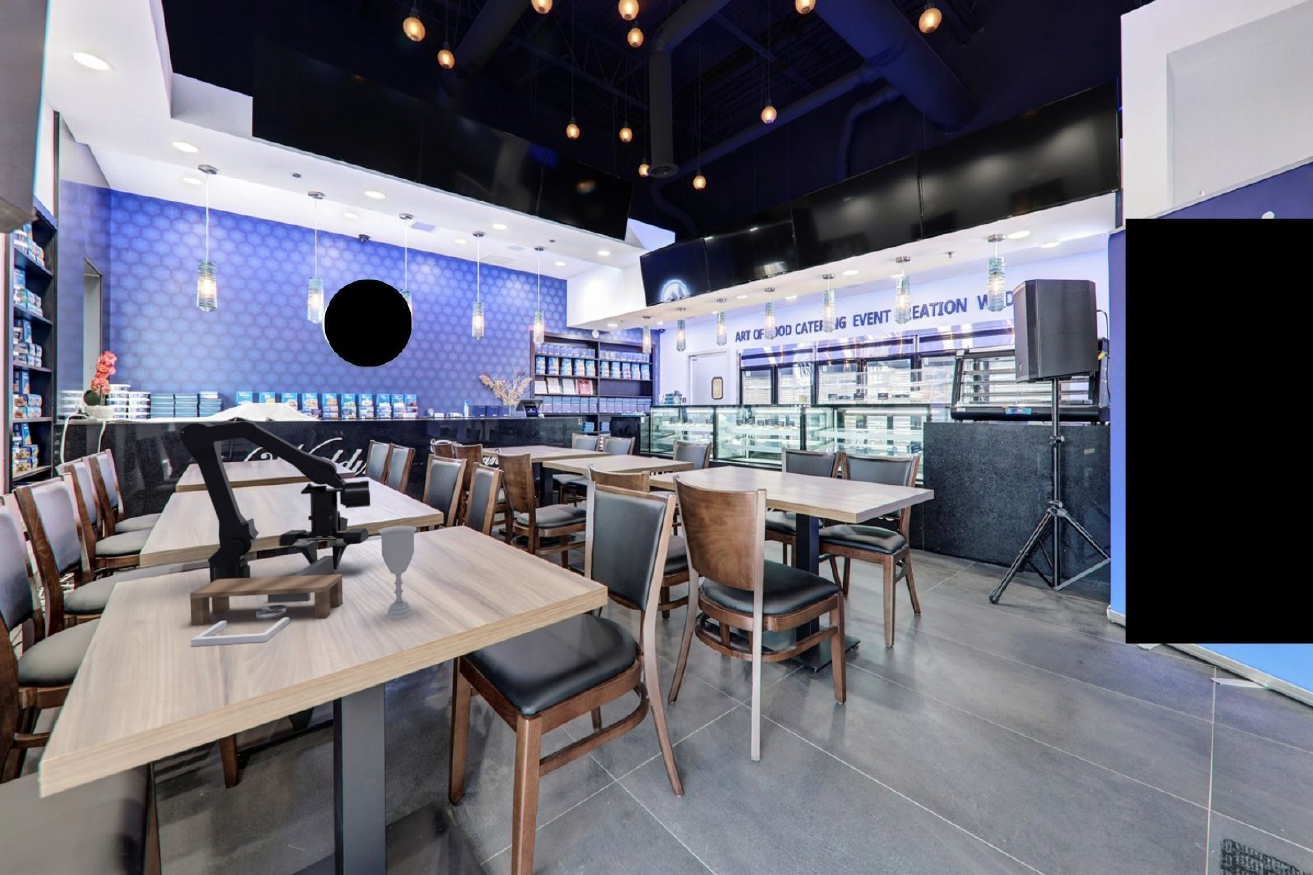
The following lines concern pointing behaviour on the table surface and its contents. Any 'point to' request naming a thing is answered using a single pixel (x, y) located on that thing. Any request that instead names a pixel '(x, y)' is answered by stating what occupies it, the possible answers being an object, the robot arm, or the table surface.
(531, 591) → the table surface
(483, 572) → the table surface
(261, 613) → the disc
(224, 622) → the frame
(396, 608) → the chalice
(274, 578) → the walnut bench
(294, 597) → the grey wedge block
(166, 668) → the table surface
